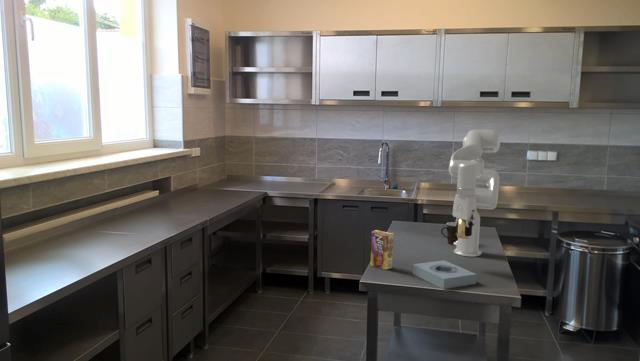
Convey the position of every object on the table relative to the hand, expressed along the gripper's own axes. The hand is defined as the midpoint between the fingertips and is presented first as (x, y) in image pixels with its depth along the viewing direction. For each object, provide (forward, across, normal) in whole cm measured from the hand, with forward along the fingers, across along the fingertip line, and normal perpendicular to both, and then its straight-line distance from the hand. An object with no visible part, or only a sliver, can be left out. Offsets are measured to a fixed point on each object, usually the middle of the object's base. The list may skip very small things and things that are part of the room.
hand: (463, 233), depth 225 cm
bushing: (+2, 0, 0) cm, 2 cm away
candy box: (+15, -14, -32) cm, 38 cm away
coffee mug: (+16, -35, +23) cm, 45 cm away
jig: (+15, +9, -17) cm, 24 cm away
